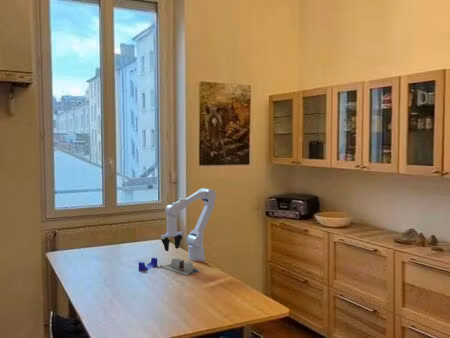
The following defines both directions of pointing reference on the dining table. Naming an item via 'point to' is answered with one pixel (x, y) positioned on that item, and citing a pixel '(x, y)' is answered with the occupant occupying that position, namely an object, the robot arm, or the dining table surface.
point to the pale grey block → (177, 264)
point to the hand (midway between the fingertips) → (171, 249)
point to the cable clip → (149, 265)
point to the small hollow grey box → (188, 267)
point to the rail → (169, 267)
